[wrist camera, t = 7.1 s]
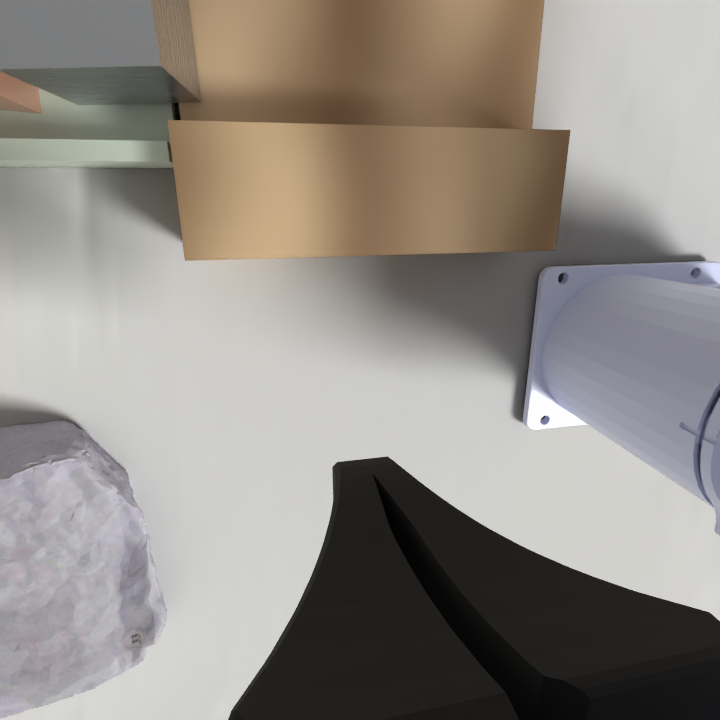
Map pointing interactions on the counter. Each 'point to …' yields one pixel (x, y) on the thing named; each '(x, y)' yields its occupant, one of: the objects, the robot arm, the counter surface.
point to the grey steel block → (102, 49)
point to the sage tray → (87, 135)
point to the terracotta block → (18, 95)
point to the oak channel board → (367, 62)
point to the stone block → (69, 568)
